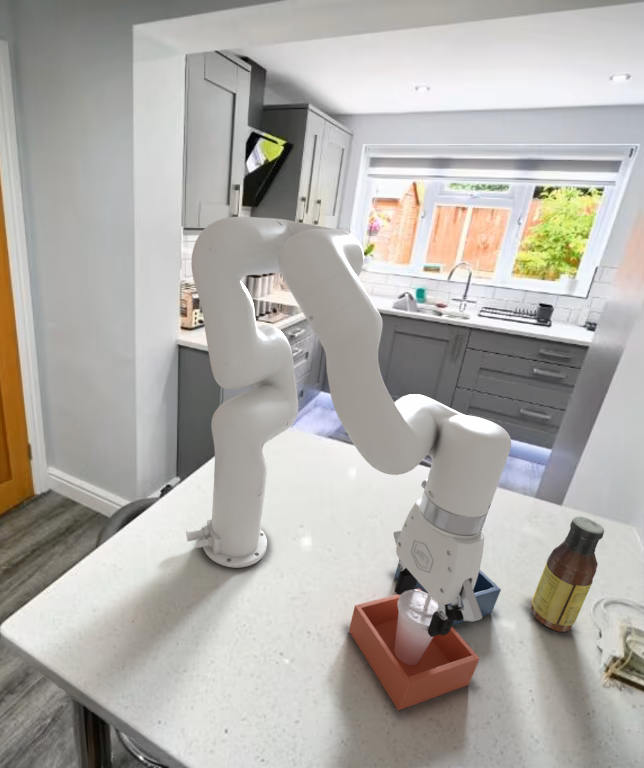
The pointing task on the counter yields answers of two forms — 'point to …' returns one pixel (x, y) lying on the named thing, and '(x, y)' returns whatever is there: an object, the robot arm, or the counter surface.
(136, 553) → the counter surface
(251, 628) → the counter surface
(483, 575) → the blue bin
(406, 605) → the smoothie
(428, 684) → the terracotta bin
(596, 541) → the sauce bottle
